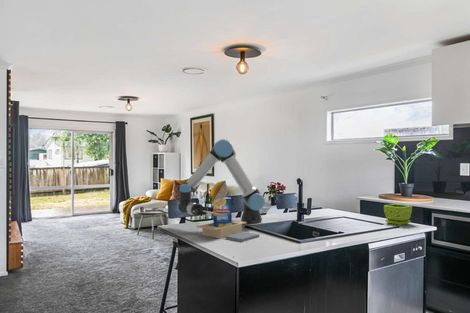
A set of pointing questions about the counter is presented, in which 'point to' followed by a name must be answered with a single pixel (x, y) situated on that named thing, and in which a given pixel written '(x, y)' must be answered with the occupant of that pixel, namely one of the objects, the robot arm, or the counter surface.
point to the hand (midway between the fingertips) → (218, 212)
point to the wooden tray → (222, 229)
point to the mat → (242, 236)
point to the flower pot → (398, 214)
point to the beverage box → (222, 211)
